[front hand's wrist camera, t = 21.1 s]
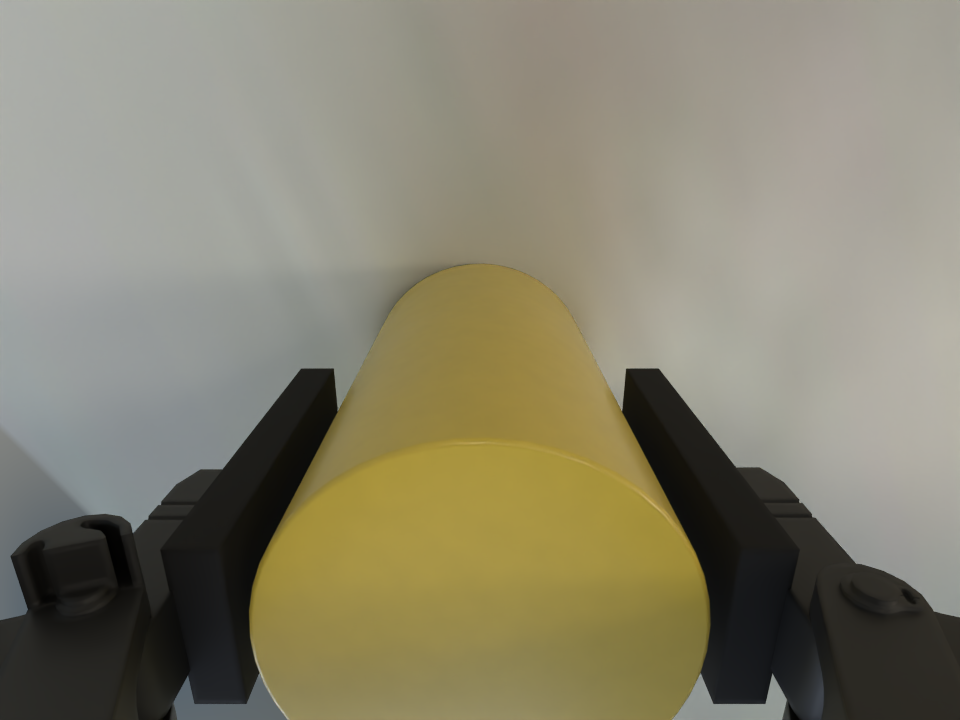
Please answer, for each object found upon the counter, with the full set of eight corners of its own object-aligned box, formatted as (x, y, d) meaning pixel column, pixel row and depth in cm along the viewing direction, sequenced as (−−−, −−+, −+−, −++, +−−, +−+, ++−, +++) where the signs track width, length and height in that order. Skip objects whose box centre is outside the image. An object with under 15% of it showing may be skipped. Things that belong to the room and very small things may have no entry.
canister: (608, 420, 18) (754, 743, 9) (423, 481, 19) (364, 841, 9) (545, 231, 16) (644, 369, 7) (342, 306, 17) (157, 531, 7)
